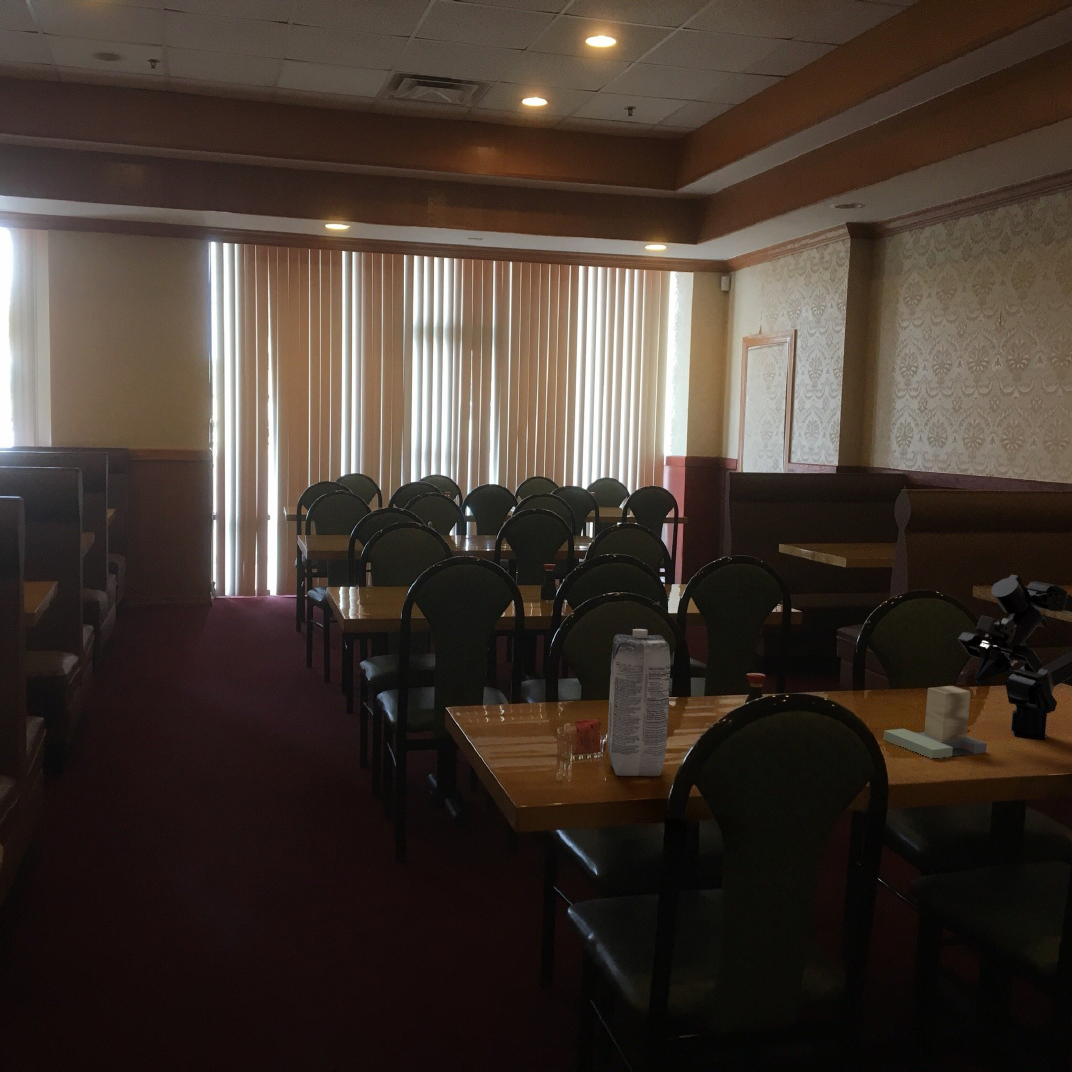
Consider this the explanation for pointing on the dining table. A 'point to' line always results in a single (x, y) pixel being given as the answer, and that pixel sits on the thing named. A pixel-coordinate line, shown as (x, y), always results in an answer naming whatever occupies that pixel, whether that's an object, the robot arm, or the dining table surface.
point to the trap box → (934, 744)
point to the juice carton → (638, 704)
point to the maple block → (947, 712)
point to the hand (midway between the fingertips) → (976, 680)
